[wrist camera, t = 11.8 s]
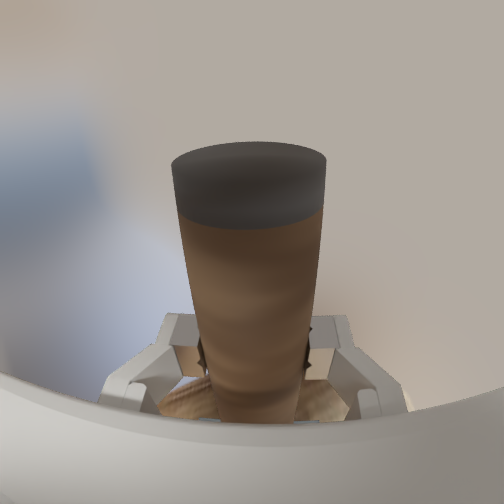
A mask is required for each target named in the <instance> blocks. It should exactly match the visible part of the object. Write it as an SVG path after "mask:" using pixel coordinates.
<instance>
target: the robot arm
mask: <svg viewBox="0 0 504 504" xmlns="http://www.w3.org/2000/svg"><path fill="white" fill-rule="evenodd" d="M206 369H207V365H206V360H205V356H204V352H203V347H202V343H201V338H200V334H199V329H198V324H197V319H196V315H194V314H176V313H167V314H166V315H165V318H164V321H163V323H162V326H161V328H160V331H159V334H158V336H157V339H156V342H155V344H150V345H149V346H148V347H146V348H145V349H144V350H142V351H141V352H140V353H138V354H137V355H136V356H134V357H133V358H132V359H130V360H129V361H128V362H127V363H125V364H124V365H123V366H121V367H120V368H119V369H117V370H116V371H115V372H114V373H112V374H111V375H109V376H108V377H107V380H106V382H105V384H104V387H103V389H102V392H101V394H100V397H99V399H98V402H97V403H95V402H92V401H88V400H84V399H80V398H77V397H73V396H70V395H66V394H63V393H60V392H57V391H53V390H50V389H47V388H44V387H41V386H38V385H35V384H33V383H30V382H27V381H25V380H22V379H19V378H17V377H14V376H12V375H9V374H7V373H4V372H2V371H0V504H504V387H502V388H499V389H496V390H493V391H490V392H487V393H484V394H480V395H477V396H474V397H470V398H467V399H463V400H460V401H456V402H452V403H448V404H444V405H440V406H436V407H431V408H426V409H422V410H417V411H412V412H408V410H407V406H406V403H405V399H404V395H403V392H402V388H401V385H400V384H399V383H398V382H397V381H396V380H395V379H394V378H393V377H392V376H390V375H389V374H388V373H387V372H386V371H385V370H383V369H382V368H381V367H380V366H379V365H378V364H377V363H375V361H373V360H372V359H371V358H370V357H369V356H368V355H367V354H365V353H364V352H363V351H362V350H361V349H360V348H355V346H354V343H353V338H352V334H351V330H350V326H349V323H348V319H347V316H346V315H333V316H312V317H311V324H310V331H309V338H308V344H307V351H306V357H305V363H304V374H305V380H317V379H327V381H328V382H329V383H330V384H331V386H332V387H333V388H334V389H335V391H336V392H337V393H338V394H339V396H340V397H341V398H342V399H343V401H344V402H345V403H346V404H347V405H348V407H349V408H350V410H349V412H348V414H347V416H346V418H345V420H344V421H338V422H324V423H305V424H246V423H226V422H212V421H201V420H191V419H183V418H175V417H168V416H162V415H161V413H160V411H159V409H158V407H157V405H158V404H159V403H160V401H161V400H162V399H163V398H164V397H165V396H166V395H167V394H168V393H169V392H170V391H171V390H172V389H173V388H174V387H175V386H176V385H177V383H178V382H179V381H180V380H181V379H182V378H183V376H188V377H189V376H190V377H205V374H206Z"/></svg>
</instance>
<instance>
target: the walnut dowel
mask: <svg viewBox="0 0 504 504" xmlns="http://www.w3.org/2000/svg"><path fill="white" fill-rule="evenodd" d="M171 167H172V175H173V182H174V190H175V197H176V205H177V211H178V219H179V225H180V232H181V238H182V244H183V250H184V255H185V262H186V267H187V273H188V278H189V284H190V289H191V294H192V299H193V305H194V310H195V315H196V319H197V324H198V329H199V334H200V338H201V343H202V347H203V352H204V356H205V360H206V365H207V369H208V373H209V377H210V381H211V385H212V390H213V393H214V397H215V401H216V405H217V409H218V413H219V417H220V420H221V422H226V423H246V424H294V419H295V413H296V408H297V403H298V398H299V392H300V387H301V381H302V375H303V369H304V363H305V357H306V351H307V344H308V338H309V331H310V324H311V317H312V309H313V302H314V294H315V286H316V278H317V268H318V260H319V250H320V240H321V229H322V217H323V204H324V190H325V176H326V158H325V157H324V155H322V154H321V153H319V152H317V151H315V150H313V149H310V148H307V147H302V146H298V145H293V144H287V143H277V142H238V143H237V142H236V143H226V144H219V145H213V146H208V147H204V148H200V149H196V150H193V151H190V152H187V153H185V154H183V155H181V156H179V157H178V158H176V159H175V160H174V161H173V162H172V164H171Z"/></svg>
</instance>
